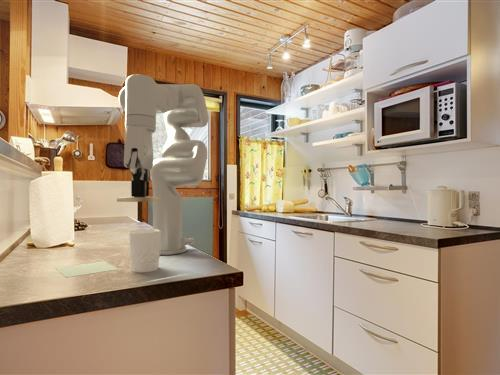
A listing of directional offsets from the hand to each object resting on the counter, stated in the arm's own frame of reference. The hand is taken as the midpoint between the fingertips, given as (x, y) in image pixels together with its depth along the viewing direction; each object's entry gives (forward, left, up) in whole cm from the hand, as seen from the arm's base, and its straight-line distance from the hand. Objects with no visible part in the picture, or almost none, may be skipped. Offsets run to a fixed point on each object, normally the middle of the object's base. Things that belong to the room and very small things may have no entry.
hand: (140, 195), depth 81 cm
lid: (0, 0, -1) cm, 1 cm away
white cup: (-1, +1, -19) cm, 19 cm away
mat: (+10, -9, -19) cm, 23 cm away
